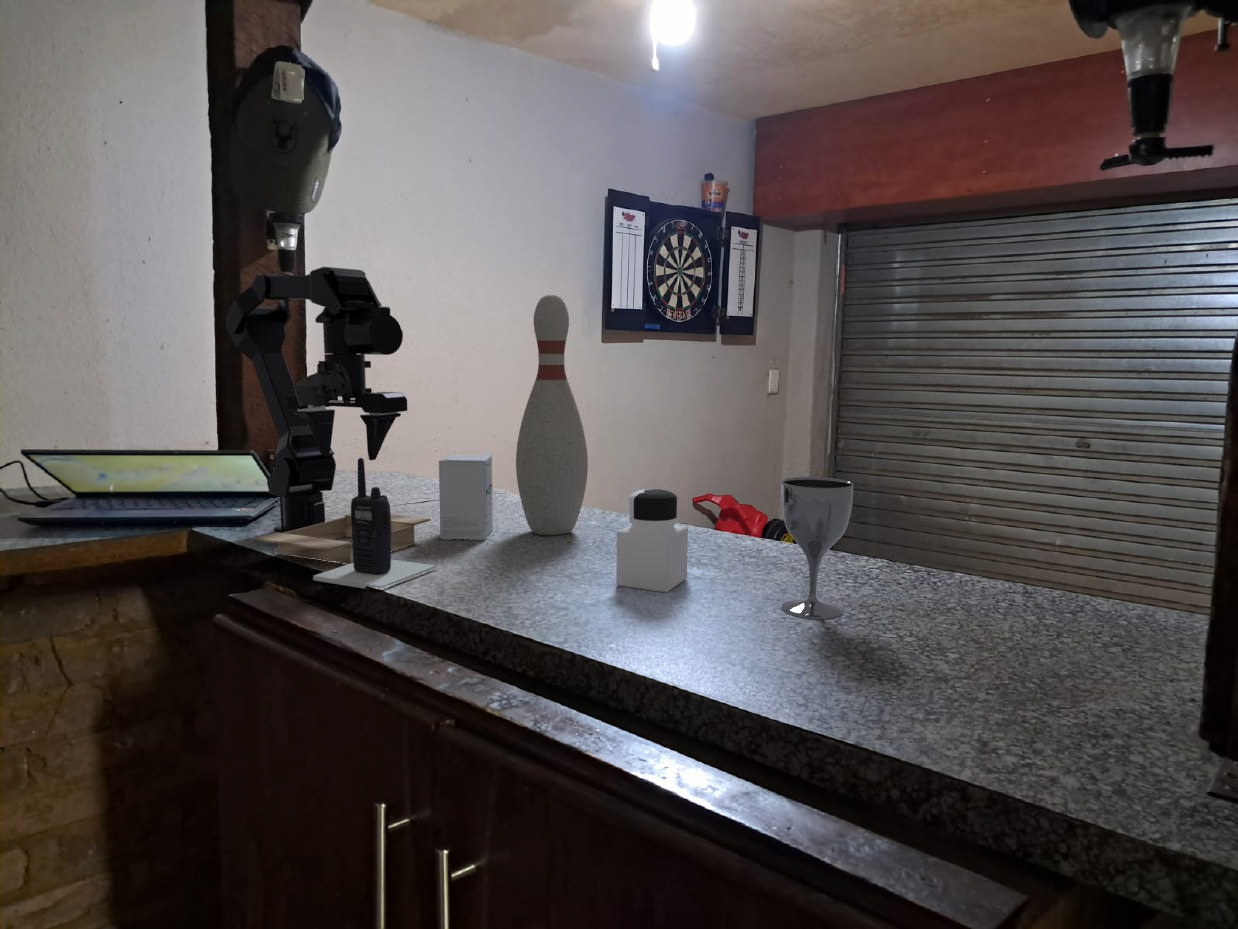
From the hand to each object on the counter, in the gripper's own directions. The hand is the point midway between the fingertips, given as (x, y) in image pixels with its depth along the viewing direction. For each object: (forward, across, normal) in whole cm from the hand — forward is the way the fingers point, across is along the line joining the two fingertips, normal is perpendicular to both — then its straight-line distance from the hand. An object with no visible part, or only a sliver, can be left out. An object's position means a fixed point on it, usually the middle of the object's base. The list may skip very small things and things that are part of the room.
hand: (348, 458), depth 127 cm
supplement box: (+13, +13, +12) cm, 22 cm away
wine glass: (+13, +71, -2) cm, 72 cm away
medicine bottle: (+13, +50, 0) cm, 52 cm away
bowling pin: (+13, +24, +20) cm, 34 cm away
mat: (+13, +16, -13) cm, 24 cm away
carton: (+13, +3, -4) cm, 14 cm away
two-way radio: (+13, +16, -13) cm, 24 cm away
